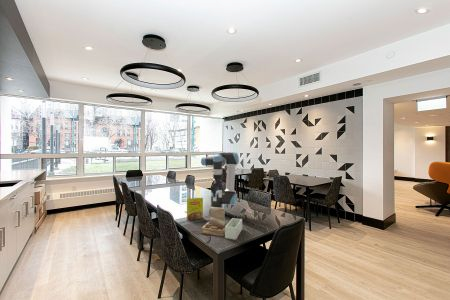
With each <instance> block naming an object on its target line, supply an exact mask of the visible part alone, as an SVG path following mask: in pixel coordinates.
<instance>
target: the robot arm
mask: <svg viewBox="0 0 450 300" xmlns="http://www.w3.org/2000/svg"><path fill="white" fill-rule="evenodd" d="M239 159H240V158H239V154H238V152H219V153H216V154H214V155H212V156H211V155H210V156H209V157H208V156H205V157H204V156H203V157H201V159H200V164H201V166H205V167H206V166H207V167H209V166H211V167H212V171H213V174H212V175H213V176H212V177H213V179H214V180H213V182H212V189H211V193H210V208H209V211H208V212H209V214H208V215H210V216H211V207H218V208H224V207H223V205H229V206H231V205H233V206H235V205H236V202H237V197H238V194H237V193H236V190H235V181H236V179H235V178H236V167H237V166H238V164H239V163H240V160H239ZM224 166H227V167H226V183H225V189H224V188H223V180H222V179H223V167H224ZM223 190H224V191H223Z"/></svg>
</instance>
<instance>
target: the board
mask: <svg viewBox="0 0 450 300" xmlns="http://www.w3.org/2000/svg"><path fill="white" fill-rule="evenodd" d="M210 208H211V215H210V216H209V217H210V221H209V222H210V224H214V225H222V226H225V224H226V223H225V220H226V219H225V214H226V212H225V207H223V208H218V207H211V206H210Z"/></svg>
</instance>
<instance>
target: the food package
mask: <svg viewBox="0 0 450 300" xmlns="http://www.w3.org/2000/svg"><path fill="white" fill-rule="evenodd" d="M203 218H204V197H195V198H194V197H193V198H187V199H186V220H187V219H188V220H198V219H199V220H200V219H203Z"/></svg>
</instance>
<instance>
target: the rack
mask: <svg viewBox="0 0 450 300" xmlns="http://www.w3.org/2000/svg"><path fill="white" fill-rule="evenodd" d="M227 224H228V223H225V226H226V225H227ZM211 226H215V227H218V229H221V230H216V229H209V228H211ZM225 226H222V225H214V224H210V221H207V222H206V223H205V225H203V226H201V228H200V233H201V234H204V235H211V236H212V235H213V236H219V237H225Z"/></svg>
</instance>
